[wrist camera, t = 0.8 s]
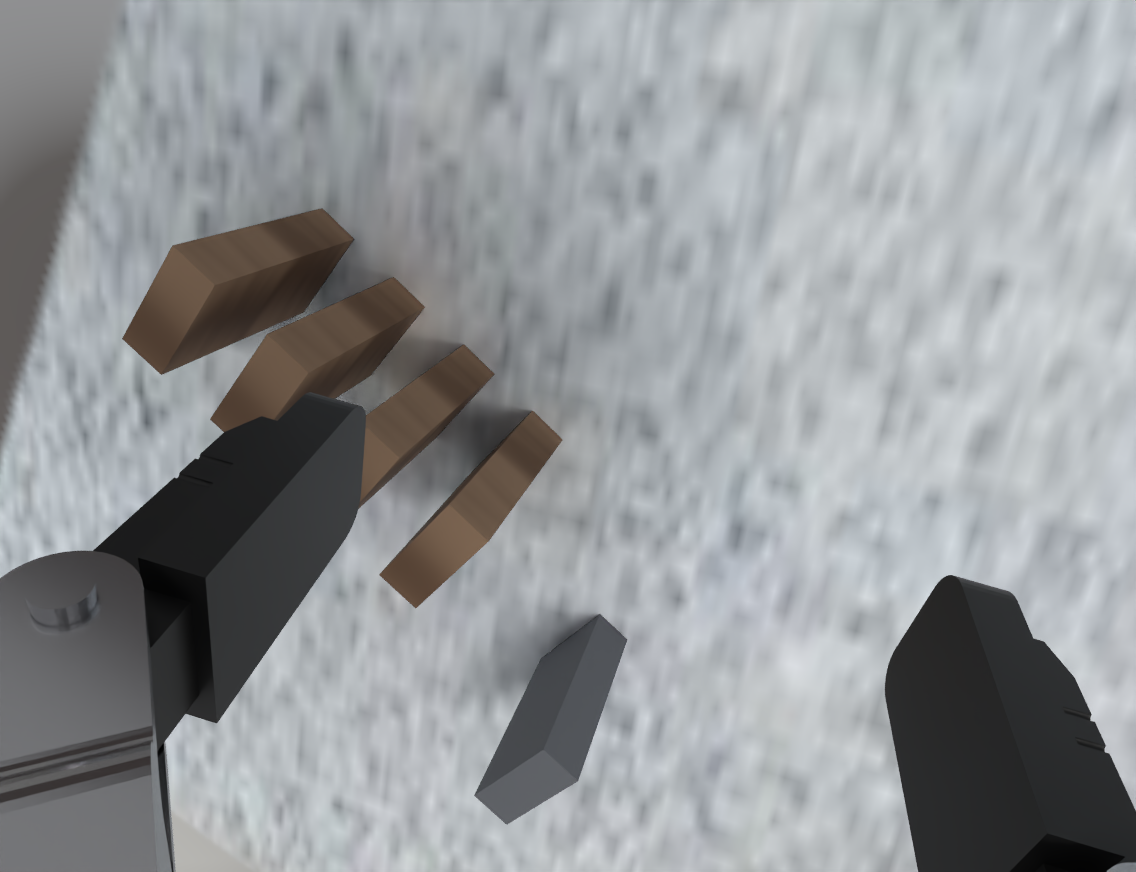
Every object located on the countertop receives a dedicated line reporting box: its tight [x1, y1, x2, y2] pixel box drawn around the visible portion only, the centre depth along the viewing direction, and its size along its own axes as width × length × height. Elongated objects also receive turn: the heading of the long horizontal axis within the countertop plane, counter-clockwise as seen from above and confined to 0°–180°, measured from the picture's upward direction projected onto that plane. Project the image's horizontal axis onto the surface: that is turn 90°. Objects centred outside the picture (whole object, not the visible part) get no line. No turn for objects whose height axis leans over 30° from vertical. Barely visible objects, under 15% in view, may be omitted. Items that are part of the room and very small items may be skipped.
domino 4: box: [379, 411, 562, 608], centre depth 34 cm, size 5×2×10 cm, turn 139°
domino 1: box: [122, 209, 354, 375], centre depth 33 cm, size 5×2×10 cm, turn 139°
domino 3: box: [358, 345, 494, 509], centre depth 34 cm, size 5×2×10 cm, turn 139°
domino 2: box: [210, 277, 425, 432], centre depth 34 cm, size 5×2×10 cm, turn 139°
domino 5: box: [474, 615, 627, 824], centre depth 38 cm, size 5×2×10 cm, turn 139°
